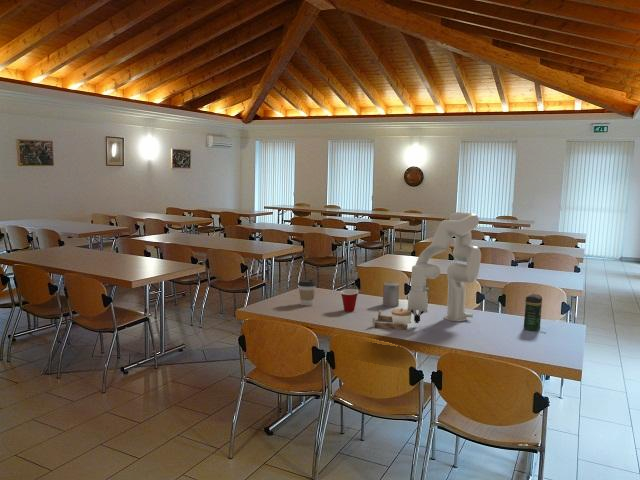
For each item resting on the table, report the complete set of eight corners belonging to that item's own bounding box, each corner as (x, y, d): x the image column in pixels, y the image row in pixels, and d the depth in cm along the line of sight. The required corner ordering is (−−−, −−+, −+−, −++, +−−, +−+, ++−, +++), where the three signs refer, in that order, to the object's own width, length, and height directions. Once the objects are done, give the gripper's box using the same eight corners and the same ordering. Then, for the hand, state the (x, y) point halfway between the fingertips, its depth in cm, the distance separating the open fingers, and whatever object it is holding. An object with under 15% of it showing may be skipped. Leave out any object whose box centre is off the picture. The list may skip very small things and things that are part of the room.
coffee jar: (537, 332, 289) (540, 297, 287) (522, 329, 294) (524, 295, 291) (541, 328, 297) (544, 294, 295) (526, 325, 302) (528, 292, 299)
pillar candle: (387, 302, 350) (388, 279, 348) (401, 305, 344) (402, 281, 342) (379, 305, 342) (380, 281, 340) (393, 308, 336) (394, 283, 334)
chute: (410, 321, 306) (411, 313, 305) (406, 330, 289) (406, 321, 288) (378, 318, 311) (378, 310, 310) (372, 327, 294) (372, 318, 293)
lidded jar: (415, 326, 297) (416, 309, 296) (400, 329, 291) (401, 311, 290) (401, 321, 306) (402, 305, 305) (386, 324, 300) (387, 307, 299)
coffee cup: (316, 307, 336) (316, 282, 334) (297, 306, 336) (297, 282, 334) (316, 302, 347) (316, 279, 345) (298, 302, 347) (298, 278, 346)
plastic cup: (336, 310, 328) (336, 290, 326) (347, 307, 336) (348, 288, 334) (350, 314, 320) (350, 293, 319) (361, 310, 328) (362, 290, 327)
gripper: (433, 288, 295) (431, 322, 297) (405, 286, 299) (403, 319, 301) (432, 291, 288) (430, 325, 290) (403, 289, 292) (401, 323, 294)
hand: (416, 322), depth 296 cm, fingers closed
